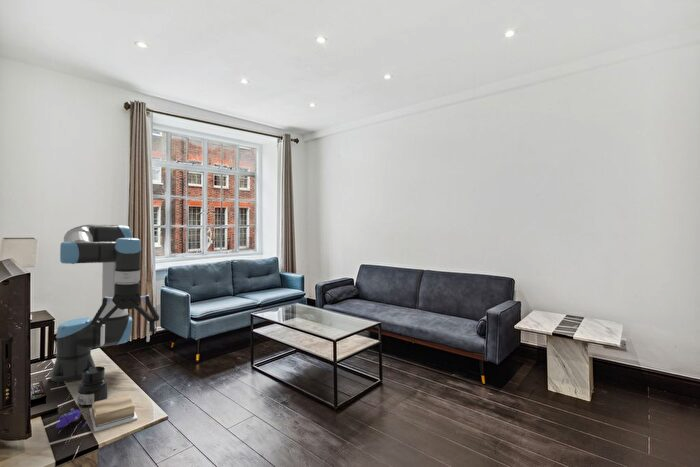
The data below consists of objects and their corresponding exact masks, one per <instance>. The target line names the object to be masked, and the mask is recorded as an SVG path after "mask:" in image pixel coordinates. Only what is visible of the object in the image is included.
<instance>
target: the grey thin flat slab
mask: <svg viewBox="0 0 700 467" xmlns="http://www.w3.org/2000/svg"><path fill="white" fill-rule="evenodd" d="M88 410H89V416H90V419H91V422H92V423H91V424H92V428H93V432H98V431H102V430H106V429H109V428H112V427H115V426H118V425H123V424H125V423H130V422H133V421H137V420H138V415H137V413H136V412H135V410H134V415H132V416H128V417H125V418H121V419H118V420H114V421H111V422H107V423H104V424H100V425H96V426H95V422H94V418H93V414H92V407H89V409H88Z"/></svg>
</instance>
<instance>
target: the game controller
mask: <svg viewBox="0 0 700 467" xmlns="http://www.w3.org/2000/svg"><path fill="white" fill-rule="evenodd" d="M81 413H83V414H86V415H88V413H87V412H84V411H80V409H77V408H76V409H74V408H71V409H70V411H69V412H67V413H64V414H63V413H59V412H57V413H55V414H53V415H51V417H49V420H48V421H50V420H51V418H52V417H53V416H54V415H58V414H59V415H60V416H59V418H58V420H59V421H58V422H57V423H56V425H55V429H59V430H62V429H64V428H67V427H70V429H71V431H72V432H73V433H74V434H76V435H78V432H75V431H74V430H73V429H72V425H75V424H76V423H73V424H70V423H72V422H76V421H78V420H80V419H81V418H80V417H81ZM88 416H89V417H88V418H89V419H91V415H88ZM82 422H84V424H83V425H82V428H81V430H83V429H84V428H85V427H86V425H87V424H88V423H87V421H86V419H85V420H81V421H80V423H82ZM48 424H49V427H50V428H51V429H53V430H54V428H53V427H52V426H51V424H50V423H48Z"/></svg>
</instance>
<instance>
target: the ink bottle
mask: <svg viewBox="0 0 700 467" xmlns="http://www.w3.org/2000/svg"><path fill="white" fill-rule="evenodd" d="M105 371H106V368H105V367H104V366H98V365H97V366H95V367H91V368H87V369H85V370H83V371H82V379H81V382H82V383H81V384H79V385H78V387H77V406H78V407H80V408H92V403H93V402H97V401H101V400H105V399H108V389H109V388H108V387H109V386H108V385H109V383H108V380H107V379H105V376H106V375H105Z"/></svg>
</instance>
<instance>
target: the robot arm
mask: <svg viewBox="0 0 700 467" xmlns="http://www.w3.org/2000/svg"><path fill="white" fill-rule="evenodd" d="M59 249H60V250H59V252H60V253H59V255H60V256H59V262H60V263H61V264H63V265H65V264H66V265H67V264H71V265H75V264H96V263H97V264H98V263H99V264H100V263H101V264H102V273H101V274H102V275H101V277H102V280H101V281H102V283H101V285H102V287H101V288H102V289H101V290H102V291H101V305H100V306H99V308H98V310H97V312H96V313H95V315H94V317H93V318H91V317H79V318H75V319H71V320H67V321H64V322H63V323H61V324H60V325H59V324H58V326H57V329H56V336H55V337H56V353H55V354H56V355H55V356H56V357H55V358H56V359H55V362H54V363H53V364H54V365H53V367H52V369H51V372H50V378H49V379H50V381H52V382H55V383H68V382H75V381H79V380H82V371H83V370H85V369H87V368H91V367H96V364H95V361H94V359H93V355H92V349H95V348H101V347H107V346H114V345H115V346H117V345H120V344H121V345H122V344H125V343H127V342H128V341H129V340H130V338H131V335H132V330H133V328H132V327H133V317H132V316H129V312H127V311H126V310H133V309H134V310H135V311H137V312H138V313H139V314H140V315H141V316H142V317H143V318H144V319H145V320H146V321H147V323H146V342H147V343H149V342H150V339H151V337H150V336H151V335H150V334H151V332H154V323H155V322H158V321H159V320H160V315H159V313H158V311H157V310H156V309H155V306H154V305H153V303H152V301H151V296H150V294H146V295H141V294H140V293H141V292H140V291H141V290H140V289H141V283H140V281H141V256H142V241H141V239H139V238H134V237H133V232H132V229H131V228H130V227H129V226H128V225H120V224H82V225H80V226H75V227H73V228H71V229H69V230H68V231H67V232H65V234H64V237H63V241H62V242H61V243H60V248H59ZM140 301H143V302H144V303H145V304H146V307H147V308H148V310H149V311H150V313H148V312H147V311H146V309H145V308H143V306H142V305H141V304H140ZM150 314H151V315H150Z"/></svg>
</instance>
